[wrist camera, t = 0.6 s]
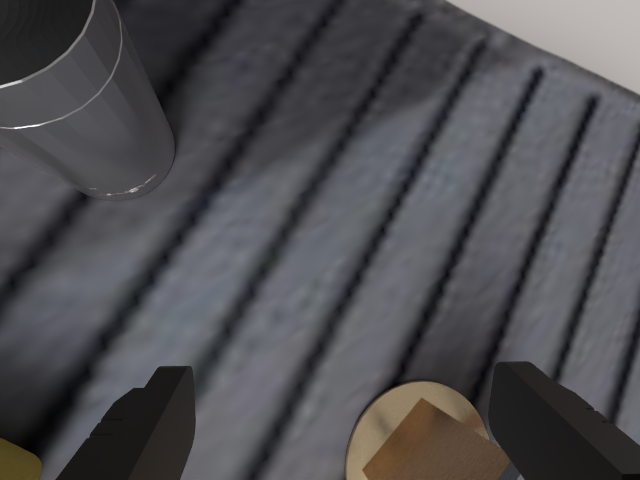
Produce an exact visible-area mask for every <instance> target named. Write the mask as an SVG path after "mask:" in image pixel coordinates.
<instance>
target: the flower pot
mask: <svg viewBox="0 0 640 480" xmlns="http://www.w3.org/2000/svg"><path fill="white" fill-rule="evenodd" d="M41 472H42V463H41V461H40V460H39V458H38V457H37V456H36V455H34V454H33V453H30V452H29V451H27V450H25V449H23V448H21V447H19V446H17V445H15V444H12V443H10V442H8V441H6V440H4V439H2V438H0V480H39V478H40V475H41Z"/></svg>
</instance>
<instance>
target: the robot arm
mask: <svg viewBox="0 0 640 480" xmlns="http://www.w3.org/2000/svg"><path fill="white" fill-rule="evenodd" d="M0 147H2V148H4V149H5V150H7V151H9V152H11V153H13V154H14V155H16V156H18V157H20V158H21V159H23V160H25V161H27V162H29V163H30V164H32V165H34V166H36V167H37V168H39V169H41V170H43V171H45V172H46V173H48V174H50V175H52V176H53V177H55V178H57V179H59V180H60V181H62V182H64V183H66V184H68V185H70V186H71V187H73V188H75V189H77V190H79V191H81V192H82V193H84V194H86V195H88V196H91V197H94V198H98V199H101V200H110V201H119V200H128V199H132V198H136V197H139V196H141V195H143V194H145V193H147V192H149V191H151V190H152V189H153V188H155V187H156V186H157V185H159V184H160V183H161V181H162V180H163V179H164V178H165V177H166V175H167V174H168V172H169V170H170V168H171V166H172V163H173V159H174V155H175V142H174V138H173V133H172V130H171V128H170V126H169V124H168V122H167V119H166V117H165V115H164V113H163V110H162V108H161V105H160V103H159V101H158V99H157V96H156V94H155V92H154V90H153V88H152V85H151V83H150V81H149V79H148V76H147V74H146V72H145V70H144V68H143V65H142V63H141V61H140V59H139V57H138V54H137V52H136V50H135V48H134V45H133V43H132V41H131V39H130V37H129V34H128V32H127V30H126V28H125V26H124V23H123V21H122V19H121V17H120V14H119V12H118V10H117V8H116V6H115V3H114V2H113V0H0ZM488 419H489V425H490V429H491V431H492V434H493V436H494V438H495V439H496V441H497V442H498V444H499V445H500V446H501V448H502V449H503V451H504V452H505V453H506V455H507V456H508V457H509V459H510V460H511V462H512V463H513V464H514V466H515V467H516V468H517V470H518V471H519V473H520V474H521V475H522V477H523V478H524V479H525V480H640V445H638V444H637V443H636V442H635V441H633V440H632V439H631V438H630V437H629V436H627V435H626V434H625V433H624V432H622V431H621V430H620V429H619V428H618V427H616V426H615V425H614V424H610V422H609V420H608V419H607V418H605V417H604V416H603V415H602V414H600V413H599V412H598V411H594V408H593V407H592V406H591V405H589V404H588V403H587V402H586V401H585V400H583V399H582V398H581V397H580V396H578V395H577V394H576V393H574V392H573V391H571V390H569V389H567V388H565V387H563V386H562V385H560V384H558V383H556V382H554V381H553V380H551V379H550V378H549V377H548V376H547V375H545V374H544V373H543V372H542V371H541V370H539V369H538V368H537V367H536V366H535V365H534V364H532V363H530V362H527V361H525V362H499V363H498V364H497V365H496V366H495V369H494V376H493V383H492V390H491V397H490V404H489V411H488ZM195 425H196V417H195V399H194V381H193V370H192V368H191V366H160V367H158V368H157V370H156V371H155V373H154V374H153V376H152V377H151V378H150V380H149V381H148V383H147V384H146V386H145V387H144V388H133V389H132V390H130V391H129V392H128V393H126V394H125V395H124V396H122V397H121V398H120V399H118V400H117V401H115V402H114V403H113V405H112V406H111V407H110V409H109V410H108V411H107V412H106V414H105V415H104V416H103V418H102V419H101V423H98V424H97V426H96V427H95V428H94V430H93V431H92V432H91V434H90V437H89V438H87V439H86V440H85V442H84V443H83V444H82V445H81V447H80V448H79V449H78V451H77V452H76V453H75V455H74V456H73V457H72V459H71V460H70V461H69V463H68V464H67V465H66V467H65V468H64V469H63V471H62V472H61V473H60V474H59V476H58V477H57V478H56V480H180V478H181V475H182V473H183V470H184V467H185V464H186V462H187V459H188V456H189V453H190V451H191V448H192V444H193V440H194V435H195Z"/></svg>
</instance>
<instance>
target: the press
mask: <svg viewBox="0 0 640 480" xmlns="http://www.w3.org/2000/svg"><path fill="white" fill-rule="evenodd" d="M345 480H525V479H524V478H523V477H522V475H521V474H520V473H519V471H518V470H517V468H516V467H515V466H514V464H513V463H512V462H511V460H510V459H509V457H508V456H507V455H506V453H505V452H504V451H503V449H502V448H500V447H498V446H497V445H495V444H494V443H492V442H491V441H489V437H488V434H487V431H486V428H485V426H484V423H483V421H482V419H481V417H480V416H479V414H478V412H477V411H476V409H475V408H474V407H473V406H472V404H471V403H470V402H469V401H468V400H467V399H466V398H465V397H464V396H462V395H461V394H460V393H458V392H457V391H455V390H453V389H451V388H449V387H447V386H445V385H443V384H440V383H437V382H433V381H428V380H415V381H408V382H404V383H401V384H398V385H396V386H393V387H391V388H389V389H388V390H386V391H384V392H383V393H381V394H380V395H379V396H378V397H376V398H375V399H374V400H373V401H372V402H371V403H370V404H369V405H368V406H367V408H366V409H365V410H364V412H363V413H362V414H361V416H360V417H359V419H358V421H357V423H356V424H355V426H354V429H353V431H352V433H351V436H350V439H349V442H348V446H347V451H346V457H345Z"/></svg>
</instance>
